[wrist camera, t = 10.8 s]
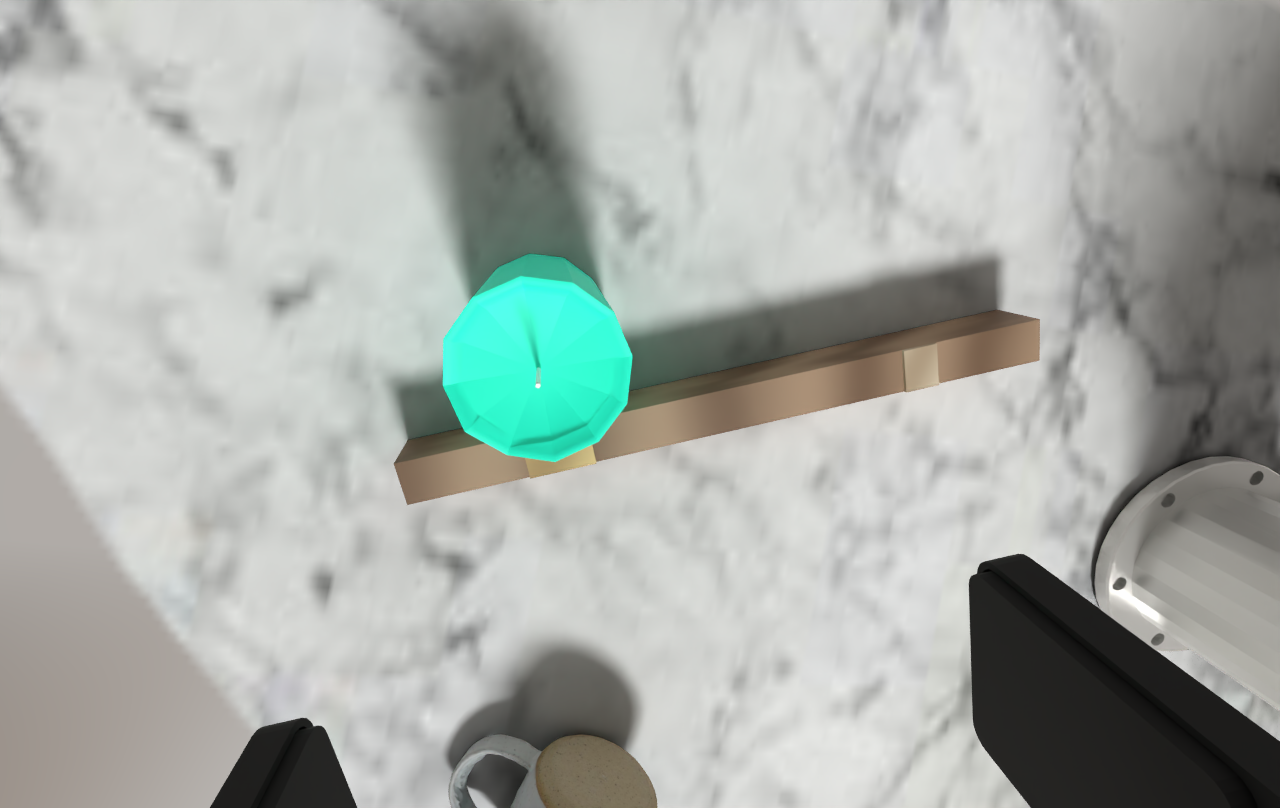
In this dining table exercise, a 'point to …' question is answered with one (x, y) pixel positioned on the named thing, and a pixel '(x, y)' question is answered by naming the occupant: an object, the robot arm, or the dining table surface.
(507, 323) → the candle
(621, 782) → the ceramic mug
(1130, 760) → the robot arm
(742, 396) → the rail
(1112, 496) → the dining table surface
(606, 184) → the dining table surface
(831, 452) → the dining table surface
